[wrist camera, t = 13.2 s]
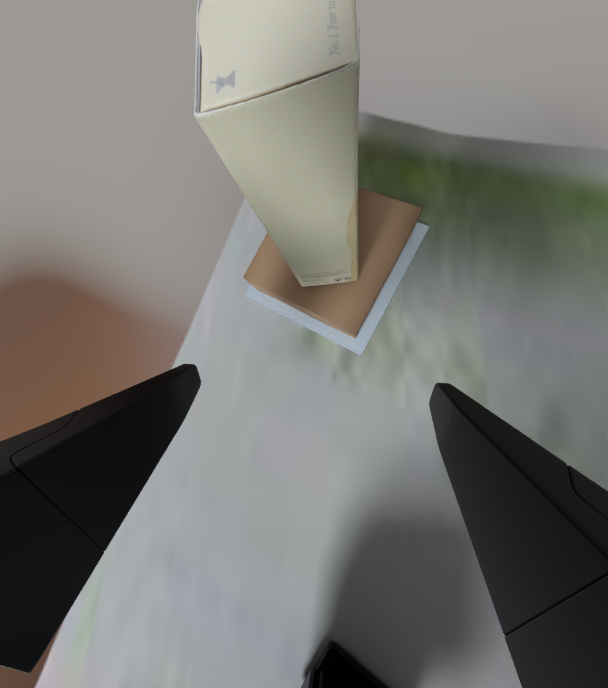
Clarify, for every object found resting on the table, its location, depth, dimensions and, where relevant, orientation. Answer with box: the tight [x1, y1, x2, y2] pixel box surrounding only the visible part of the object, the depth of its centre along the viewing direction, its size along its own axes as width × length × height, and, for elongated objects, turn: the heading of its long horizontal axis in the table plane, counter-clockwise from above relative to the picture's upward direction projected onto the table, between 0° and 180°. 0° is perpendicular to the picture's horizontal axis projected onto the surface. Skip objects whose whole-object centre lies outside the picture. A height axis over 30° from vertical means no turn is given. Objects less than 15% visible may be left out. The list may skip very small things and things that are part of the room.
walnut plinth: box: [243, 187, 423, 339], centre depth 19 cm, size 10×10×3 cm
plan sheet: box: [244, 222, 430, 355], centre depth 21 cm, size 12×12×1 cm
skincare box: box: [194, 0, 360, 287], centre depth 12 cm, size 6×4×12 cm
